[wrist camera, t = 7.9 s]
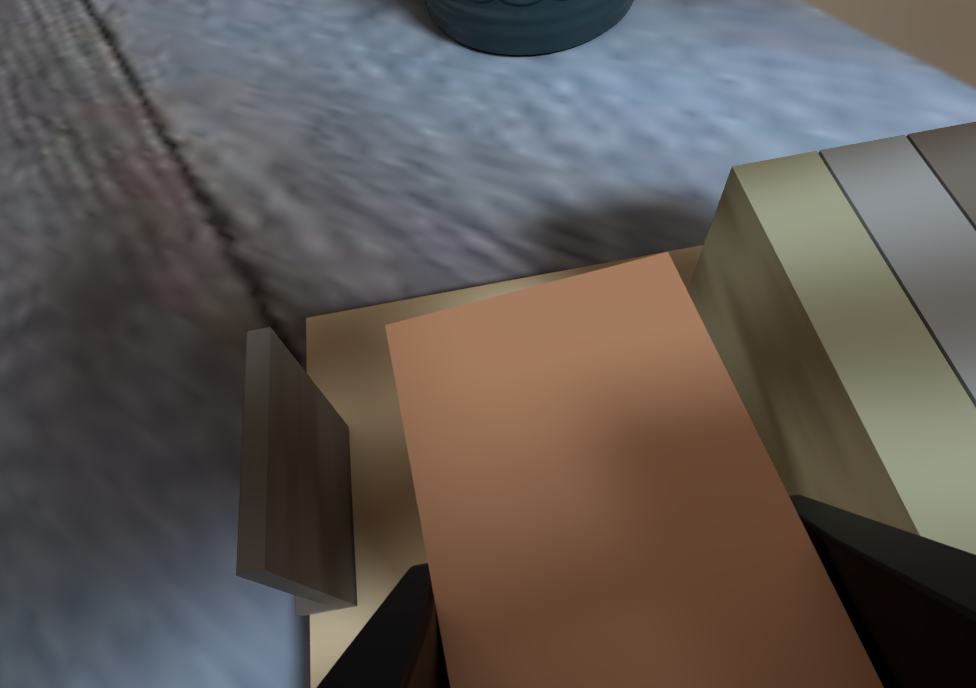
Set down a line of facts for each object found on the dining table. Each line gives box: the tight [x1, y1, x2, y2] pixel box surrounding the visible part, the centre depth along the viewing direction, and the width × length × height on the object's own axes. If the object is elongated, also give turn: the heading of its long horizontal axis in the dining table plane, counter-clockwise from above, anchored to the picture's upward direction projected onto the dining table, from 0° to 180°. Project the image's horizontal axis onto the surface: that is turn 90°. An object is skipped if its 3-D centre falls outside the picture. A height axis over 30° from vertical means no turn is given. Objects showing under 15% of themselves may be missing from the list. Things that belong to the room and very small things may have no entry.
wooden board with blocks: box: [236, 122, 976, 688], centre depth 18 cm, size 16×22×8 cm
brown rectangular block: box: [385, 252, 884, 688], centre depth 12 cm, size 7×4×10 cm, turn 13°
